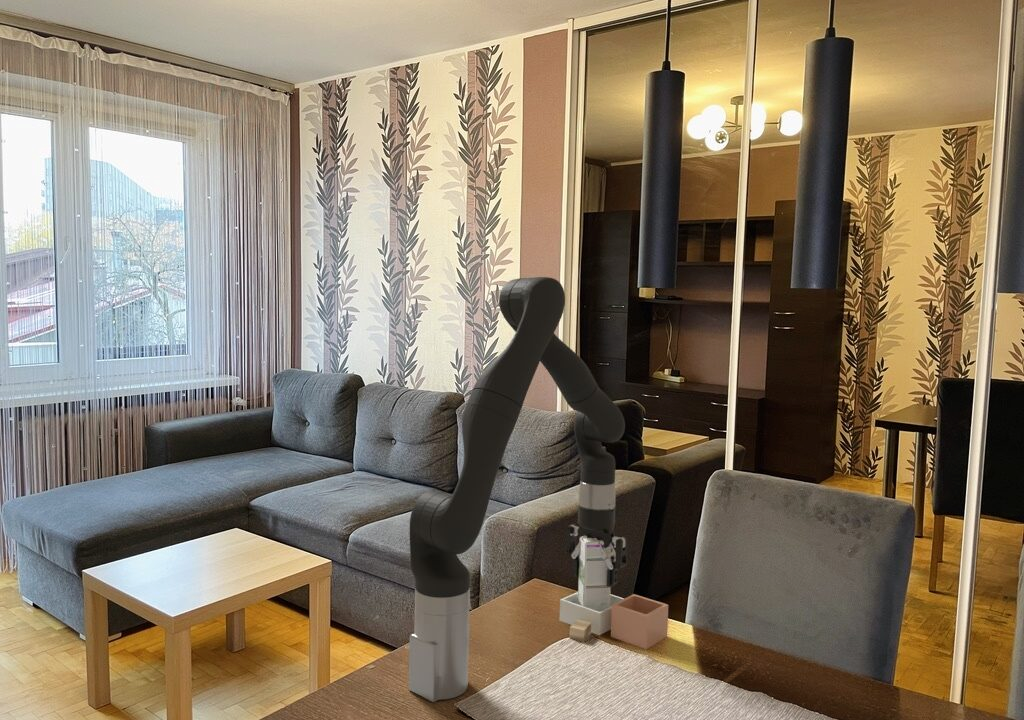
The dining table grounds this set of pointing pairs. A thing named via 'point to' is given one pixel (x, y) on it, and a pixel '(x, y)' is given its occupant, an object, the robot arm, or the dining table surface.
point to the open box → (639, 621)
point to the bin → (587, 613)
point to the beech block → (580, 630)
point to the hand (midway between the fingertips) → (594, 580)
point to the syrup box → (593, 576)
